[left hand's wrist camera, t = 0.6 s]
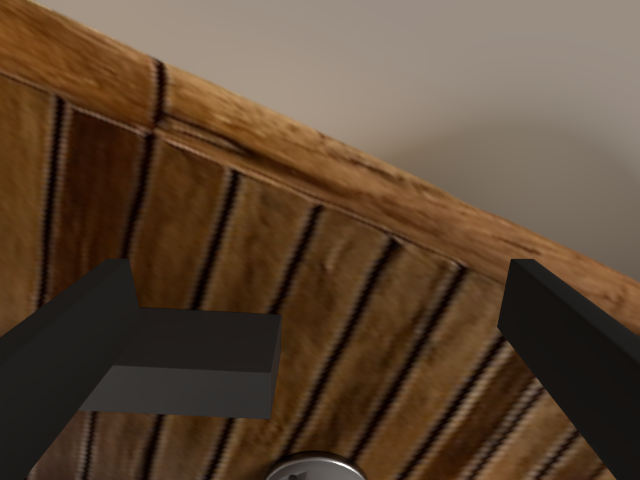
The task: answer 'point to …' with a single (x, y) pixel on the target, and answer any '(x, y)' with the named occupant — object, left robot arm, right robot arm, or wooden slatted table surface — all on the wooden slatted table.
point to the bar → (195, 366)
